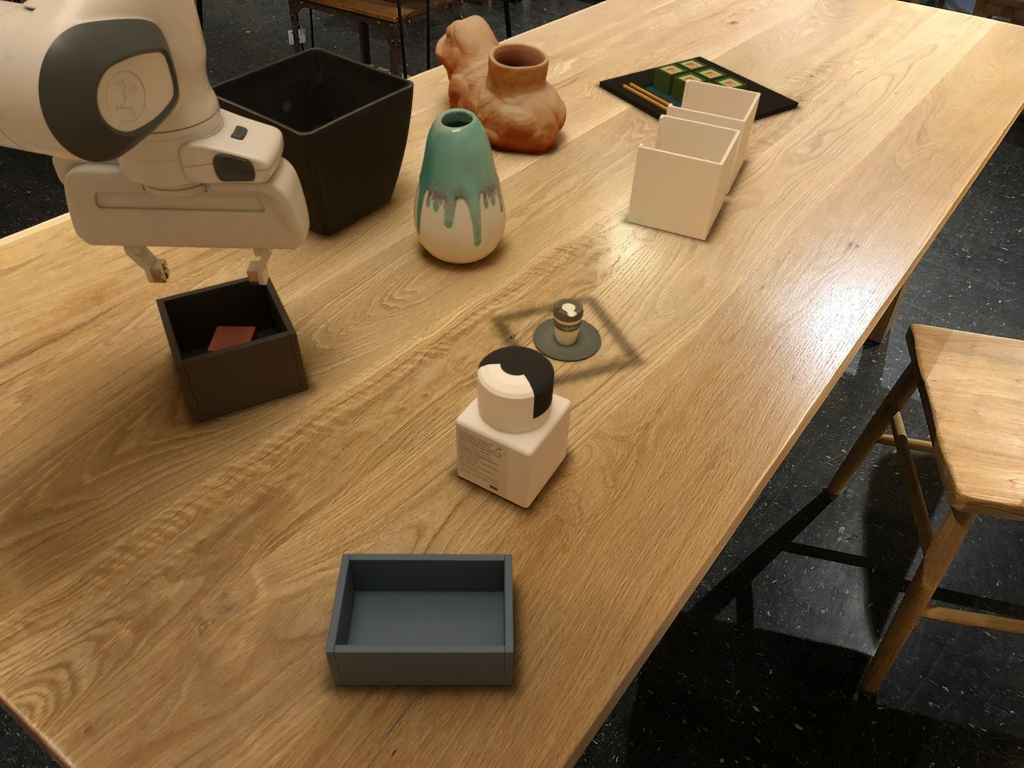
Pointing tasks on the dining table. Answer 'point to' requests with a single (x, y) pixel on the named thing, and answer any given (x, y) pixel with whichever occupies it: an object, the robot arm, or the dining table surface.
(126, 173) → the robot arm
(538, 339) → the coffee cup
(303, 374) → the basket
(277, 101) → the flower pot
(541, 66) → the ceramic vessel
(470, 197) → the vase
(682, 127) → the storage container
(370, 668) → the box
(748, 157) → the dining table surface
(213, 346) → the block
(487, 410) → the container
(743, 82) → the sushi
